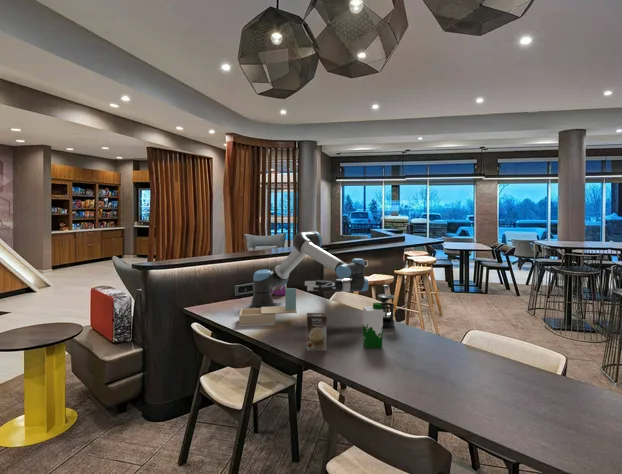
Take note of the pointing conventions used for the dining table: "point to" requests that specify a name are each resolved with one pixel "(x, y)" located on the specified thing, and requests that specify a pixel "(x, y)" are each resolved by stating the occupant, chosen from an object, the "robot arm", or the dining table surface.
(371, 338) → the milk carton
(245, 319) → the carton
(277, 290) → the candy bar box
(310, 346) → the coffee box
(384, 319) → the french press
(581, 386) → the dining table surface
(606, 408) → the dining table surface
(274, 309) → the carton lid
